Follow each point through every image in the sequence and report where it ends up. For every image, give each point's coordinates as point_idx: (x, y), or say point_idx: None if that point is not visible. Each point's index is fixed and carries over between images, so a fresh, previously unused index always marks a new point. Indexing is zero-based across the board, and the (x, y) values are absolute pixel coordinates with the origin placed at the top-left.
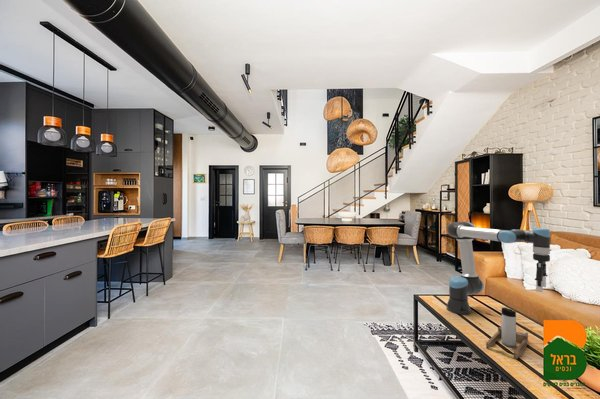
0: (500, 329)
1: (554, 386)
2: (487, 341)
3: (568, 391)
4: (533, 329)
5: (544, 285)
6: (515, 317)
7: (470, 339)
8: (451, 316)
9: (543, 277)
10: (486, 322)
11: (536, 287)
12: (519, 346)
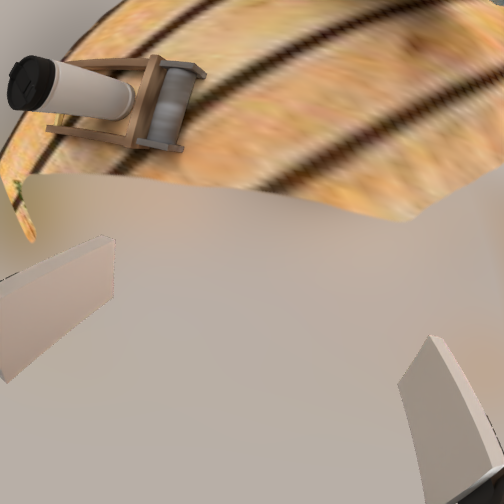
0: (150, 63)
1: (18, 196)
2: (70, 61)
3: (19, 215)
4: (339, 190)
5: (409, 391)
6: (32, 111)
7: (104, 22)
8: None
9: (447, 484)
10: (293, 21)
11: (66, 252)
12: (78, 131)
